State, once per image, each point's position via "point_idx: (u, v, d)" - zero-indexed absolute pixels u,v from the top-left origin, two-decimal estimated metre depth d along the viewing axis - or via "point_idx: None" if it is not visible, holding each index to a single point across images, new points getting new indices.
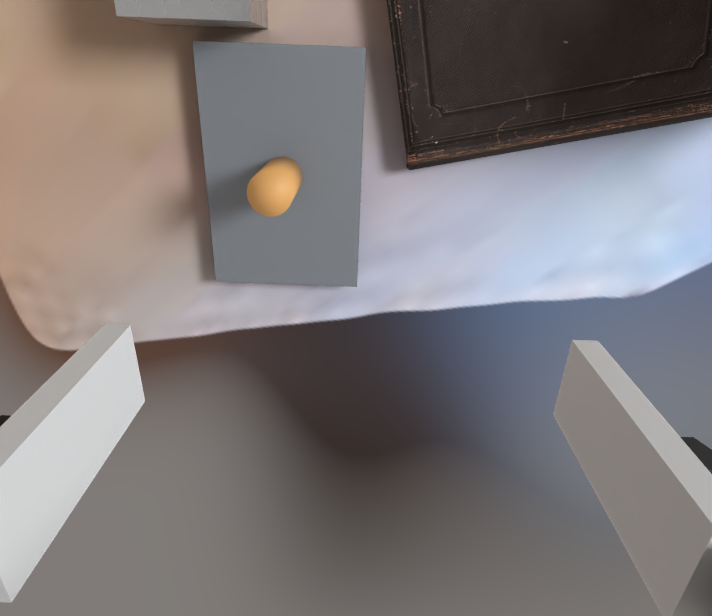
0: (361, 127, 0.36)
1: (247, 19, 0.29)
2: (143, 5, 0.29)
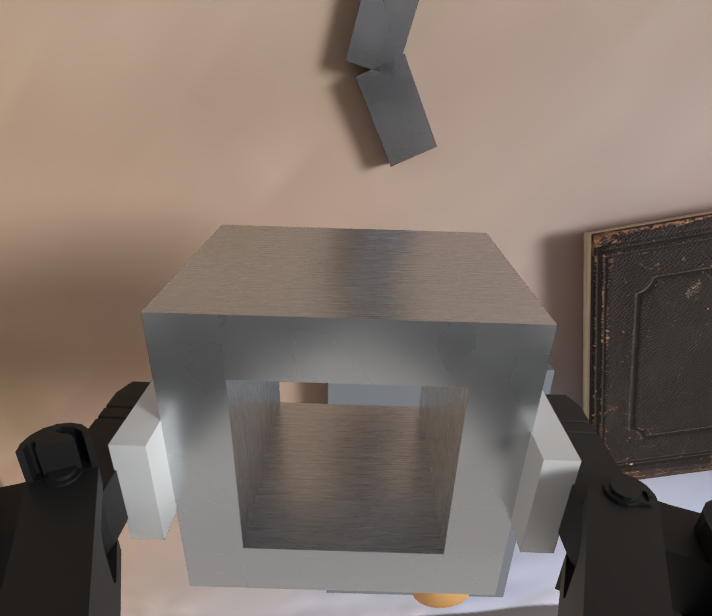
0: None
1: (489, 592, 0.13)
2: (253, 572, 0.13)
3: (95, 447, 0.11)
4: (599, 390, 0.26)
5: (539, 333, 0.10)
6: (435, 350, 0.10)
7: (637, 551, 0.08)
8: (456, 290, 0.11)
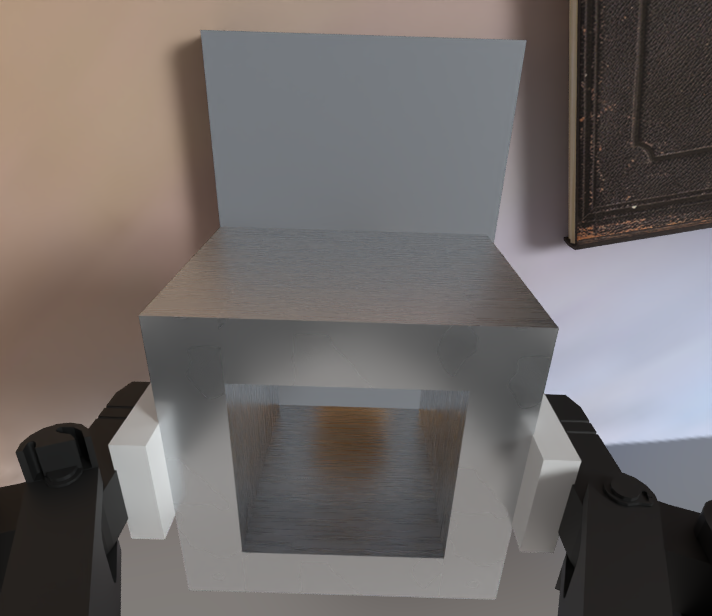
0: (500, 183, 0.20)
1: (490, 596, 0.13)
2: (252, 576, 0.13)
3: (95, 447, 0.11)
4: (590, 73, 0.18)
5: (540, 337, 0.09)
6: (436, 353, 0.10)
7: (637, 551, 0.08)
8: (456, 293, 0.11)
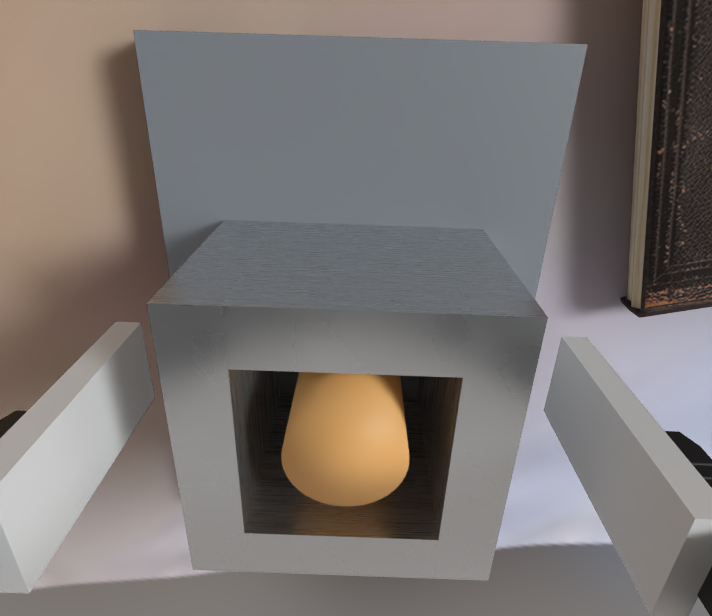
0: (544, 235, 0.15)
1: (482, 577, 0.13)
2: (254, 556, 0.13)
3: None
4: (676, 89, 0.13)
5: (530, 325, 0.10)
6: (431, 341, 0.10)
7: None
8: (451, 284, 0.11)
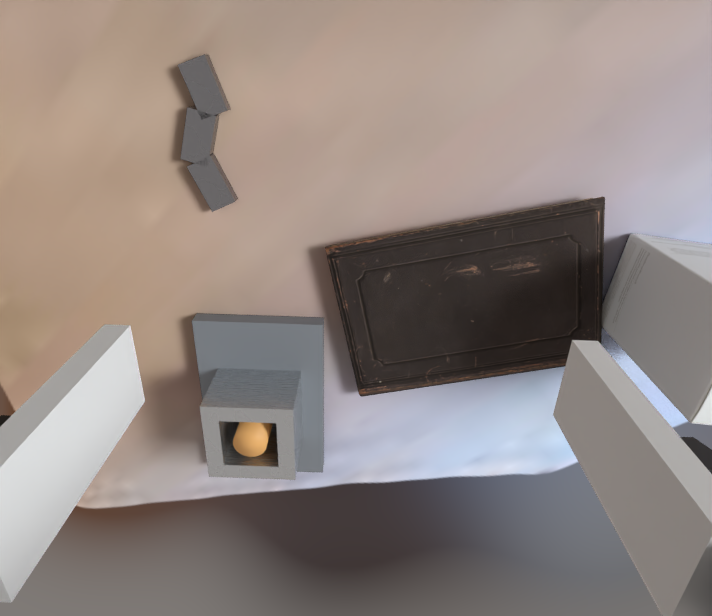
0: (321, 372, 0.47)
1: (293, 478, 0.45)
2: (226, 472, 0.45)
3: None
4: (349, 336, 0.45)
5: (289, 411, 0.42)
6: (266, 415, 0.42)
7: None
8: (276, 398, 0.43)
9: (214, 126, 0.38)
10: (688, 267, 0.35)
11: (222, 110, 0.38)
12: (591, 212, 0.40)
